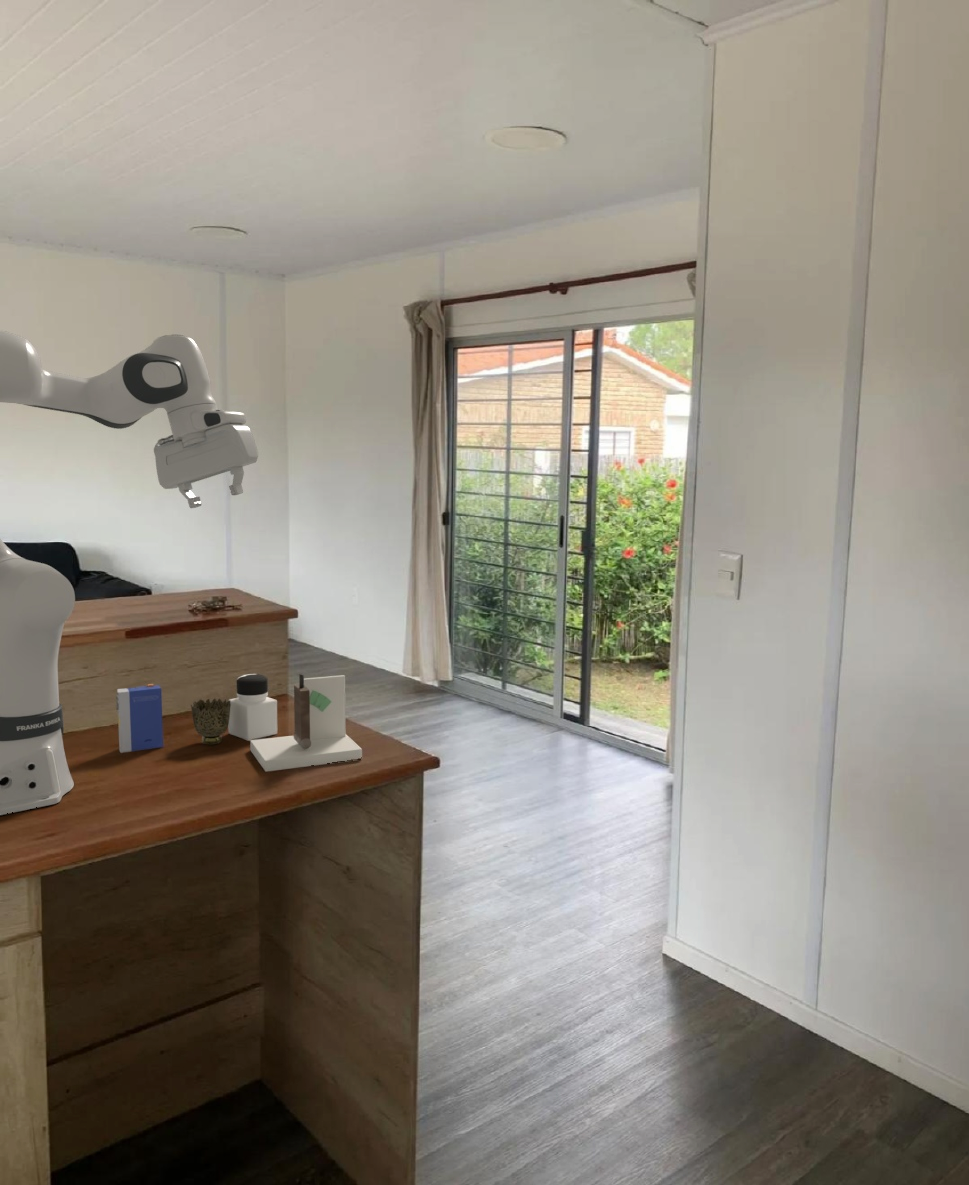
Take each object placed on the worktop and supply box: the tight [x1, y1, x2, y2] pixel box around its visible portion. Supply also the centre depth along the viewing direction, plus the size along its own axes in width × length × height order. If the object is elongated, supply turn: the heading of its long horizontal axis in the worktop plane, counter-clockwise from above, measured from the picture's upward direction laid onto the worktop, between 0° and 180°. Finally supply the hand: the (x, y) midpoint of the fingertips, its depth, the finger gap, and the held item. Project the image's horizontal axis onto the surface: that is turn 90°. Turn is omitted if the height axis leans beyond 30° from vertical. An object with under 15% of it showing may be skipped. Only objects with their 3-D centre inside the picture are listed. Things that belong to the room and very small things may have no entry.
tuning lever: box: [293, 673, 311, 749], centre depth 179 cm, size 2×5×14 cm, turn 25°
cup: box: [190, 698, 231, 745], centre depth 188 cm, size 8×7×8 cm
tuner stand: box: [249, 674, 363, 772], centre depth 181 cm, size 18×13×14 cm
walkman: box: [115, 683, 164, 754], centre depth 184 cm, size 8×3×12 cm, turn 119°
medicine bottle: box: [227, 673, 278, 742], centre depth 194 cm, size 7×7×12 cm
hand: (216, 500), depth 175 cm, fingers open, 8 cm apart
